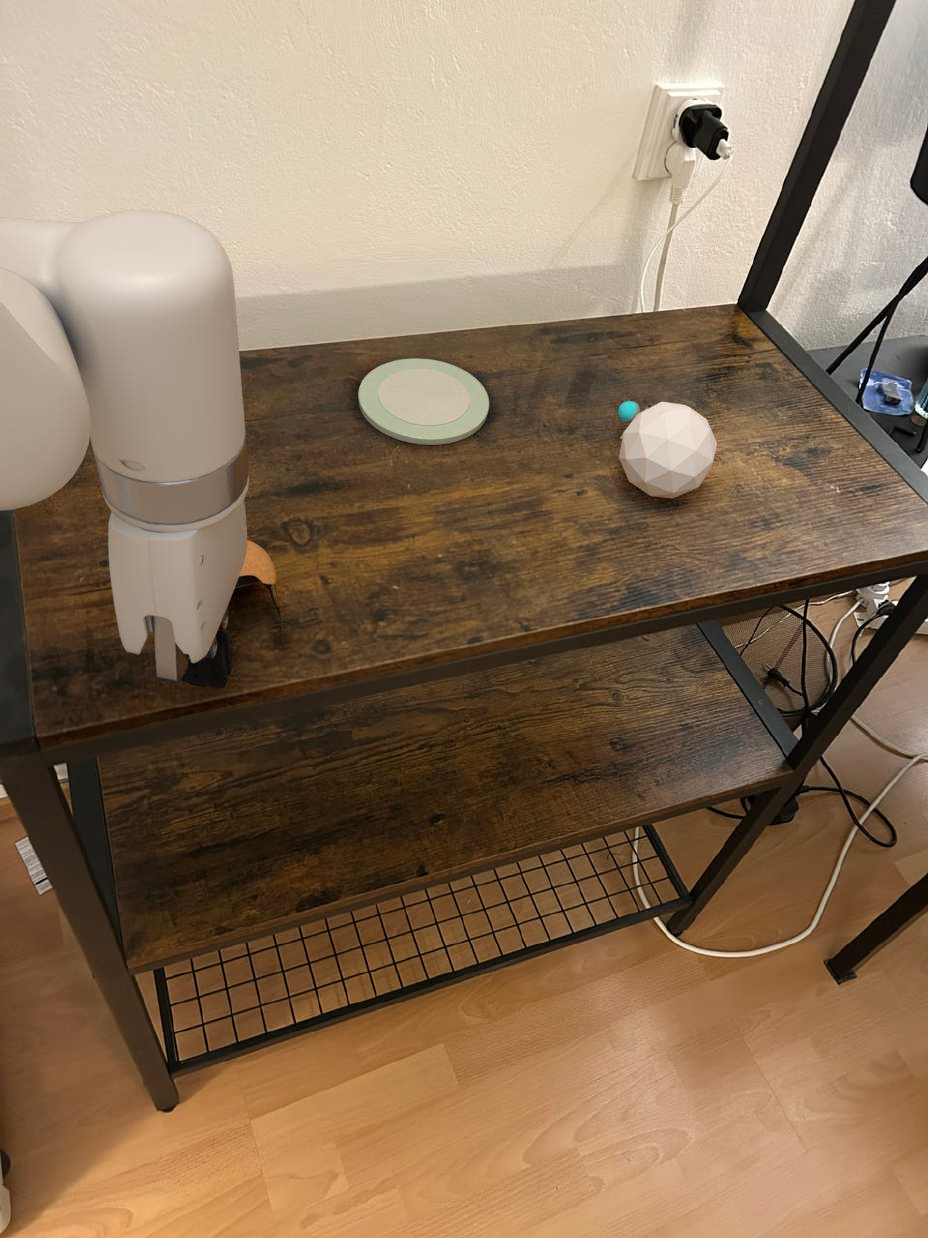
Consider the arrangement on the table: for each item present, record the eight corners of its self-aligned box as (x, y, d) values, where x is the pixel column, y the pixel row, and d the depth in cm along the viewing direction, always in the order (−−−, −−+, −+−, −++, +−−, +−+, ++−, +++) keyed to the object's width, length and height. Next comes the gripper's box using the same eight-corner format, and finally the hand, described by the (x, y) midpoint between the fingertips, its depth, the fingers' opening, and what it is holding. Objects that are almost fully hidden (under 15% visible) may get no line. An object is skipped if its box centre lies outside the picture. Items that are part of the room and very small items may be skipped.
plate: (383, 455, 84) (383, 447, 83) (341, 373, 91) (341, 366, 90) (509, 433, 88) (510, 426, 87) (459, 356, 94) (460, 349, 94)
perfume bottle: (634, 497, 78) (564, 421, 86) (690, 528, 84) (619, 455, 92) (699, 419, 75) (621, 349, 83) (752, 457, 81) (674, 387, 89)
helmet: (284, 643, 73) (260, 540, 73) (296, 637, 66) (270, 524, 67) (206, 661, 71) (181, 555, 71) (211, 656, 65) (184, 539, 65)
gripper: (152, 367, 55) (186, 584, 69) (42, 550, 45) (107, 760, 59) (281, 390, 55) (289, 602, 69) (199, 577, 45) (228, 781, 59)
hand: (205, 675), depth 64 cm, fingers closed
